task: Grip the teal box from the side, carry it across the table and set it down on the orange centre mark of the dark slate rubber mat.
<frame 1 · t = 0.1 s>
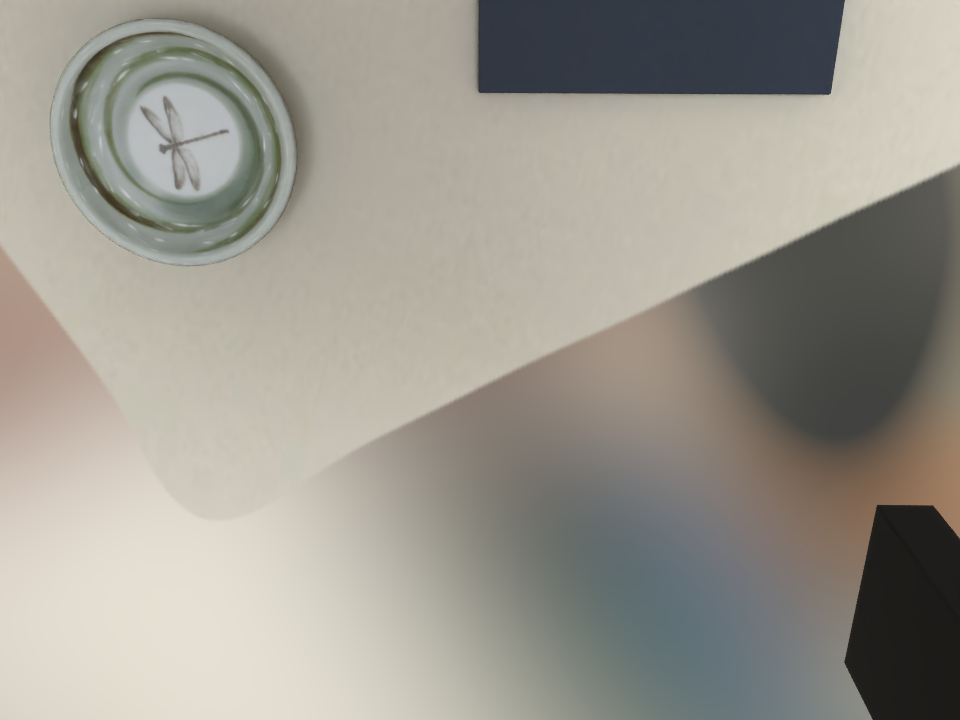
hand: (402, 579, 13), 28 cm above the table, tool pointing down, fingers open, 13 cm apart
saucer: (192, 137, 38), on the table
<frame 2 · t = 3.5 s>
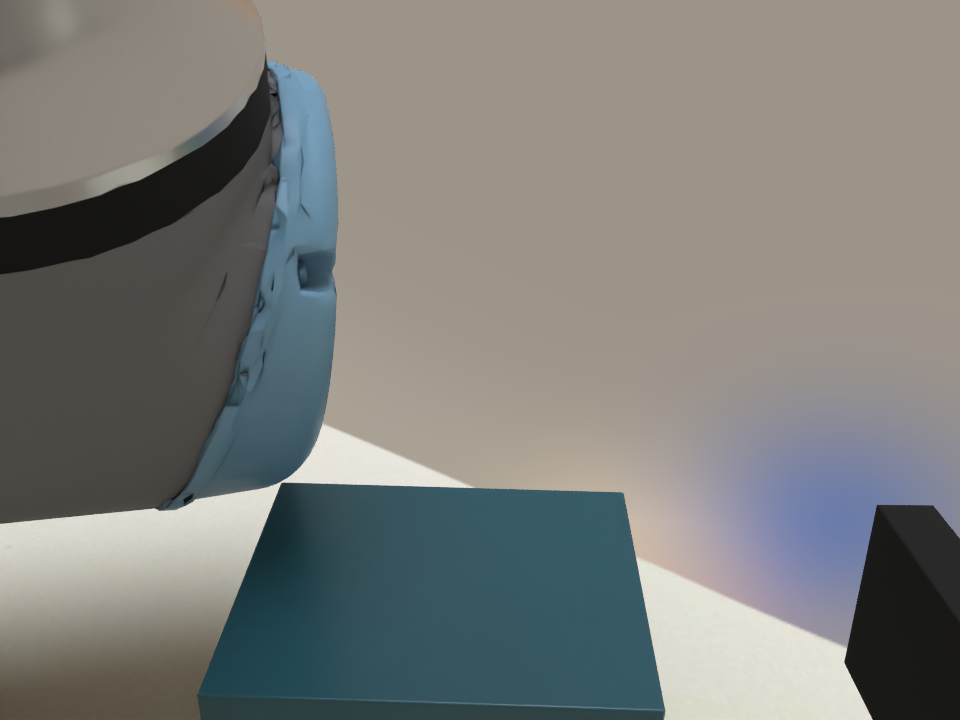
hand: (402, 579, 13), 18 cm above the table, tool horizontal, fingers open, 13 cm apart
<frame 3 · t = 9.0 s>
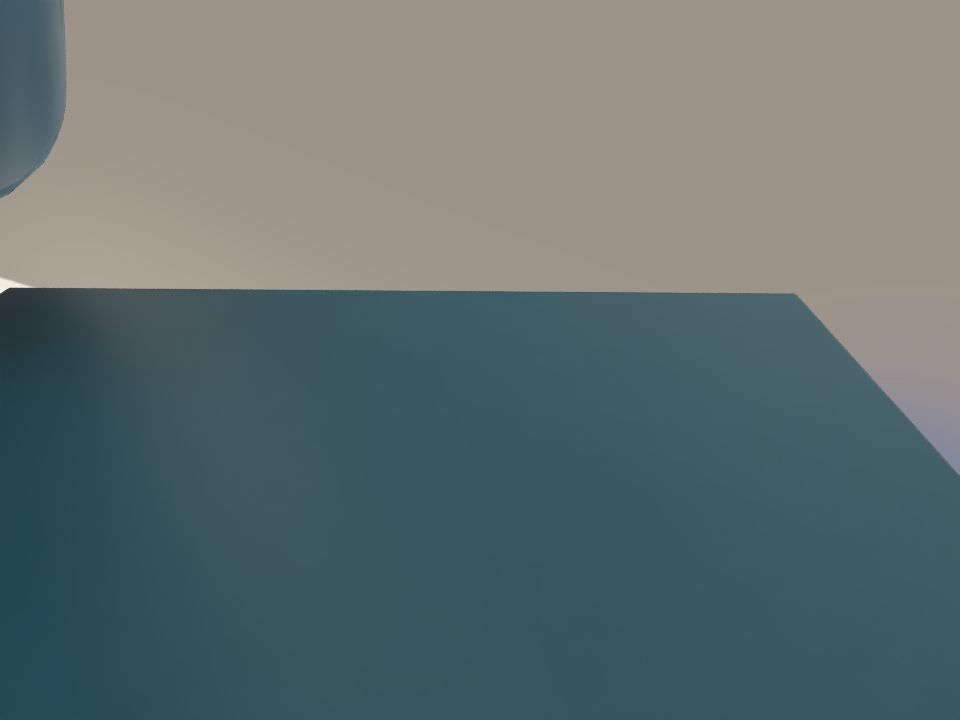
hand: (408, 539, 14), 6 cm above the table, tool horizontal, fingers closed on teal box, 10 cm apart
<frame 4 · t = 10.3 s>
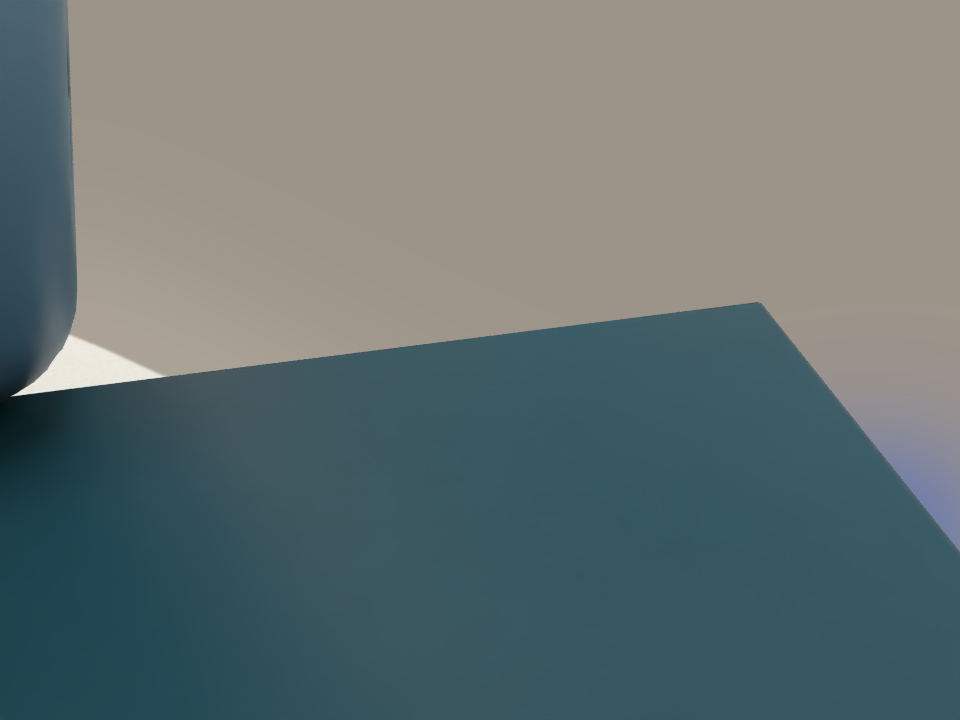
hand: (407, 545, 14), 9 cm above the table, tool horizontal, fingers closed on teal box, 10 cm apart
when the fingers open (8 cm above the table, at t = 18.0 s): teal box stays where it is, resting on mat.
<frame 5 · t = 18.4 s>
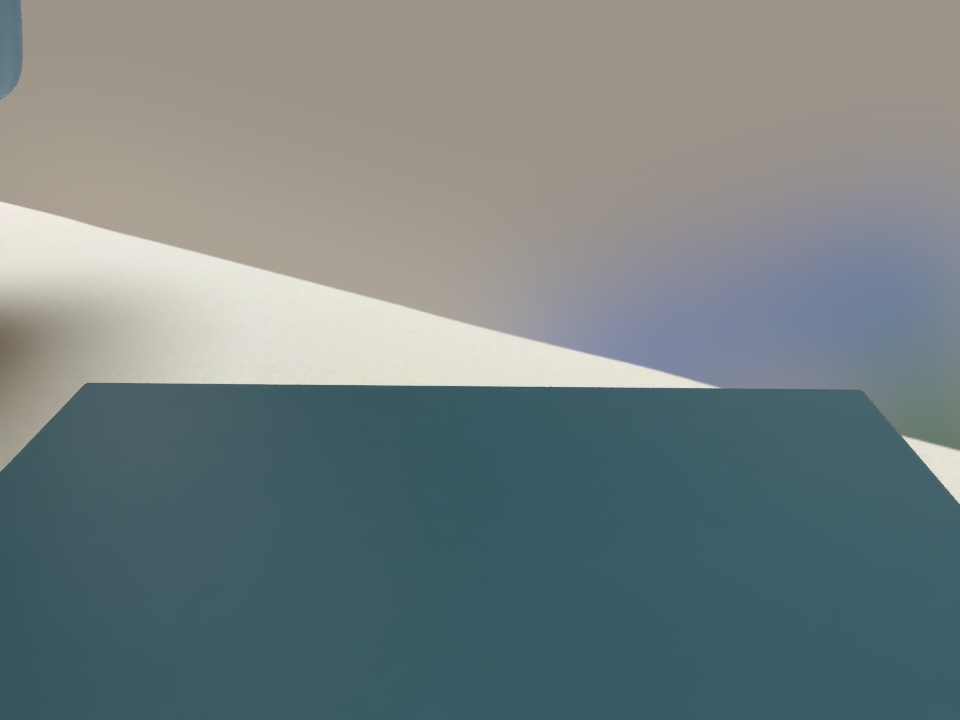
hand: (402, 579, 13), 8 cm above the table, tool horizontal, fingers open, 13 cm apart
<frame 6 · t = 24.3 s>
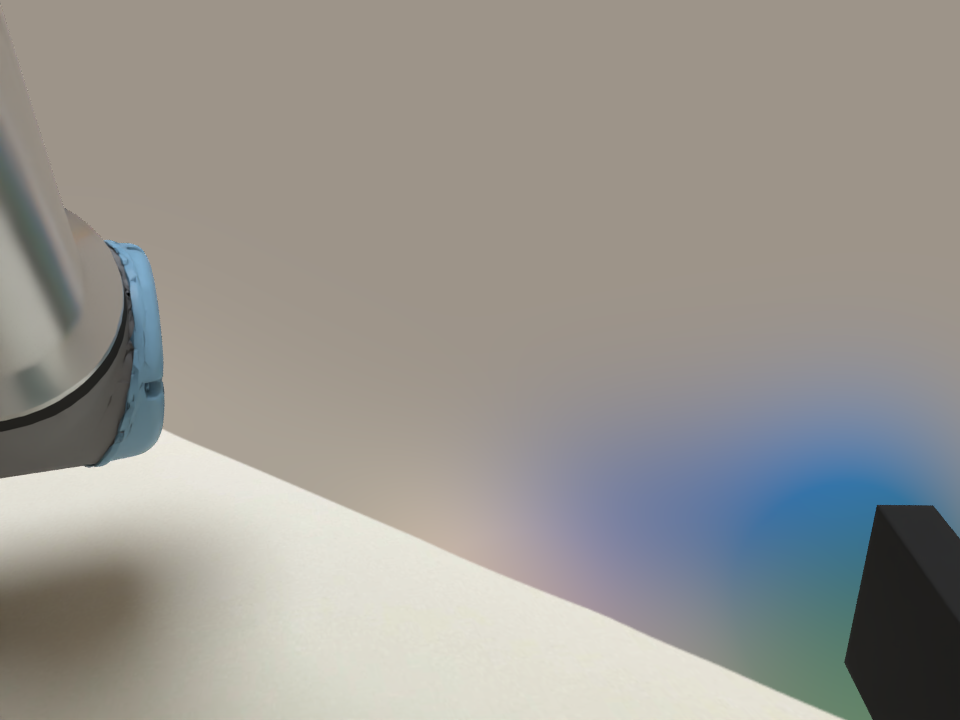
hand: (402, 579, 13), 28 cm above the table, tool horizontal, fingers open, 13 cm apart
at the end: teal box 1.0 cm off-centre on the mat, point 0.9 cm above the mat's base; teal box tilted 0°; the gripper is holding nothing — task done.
